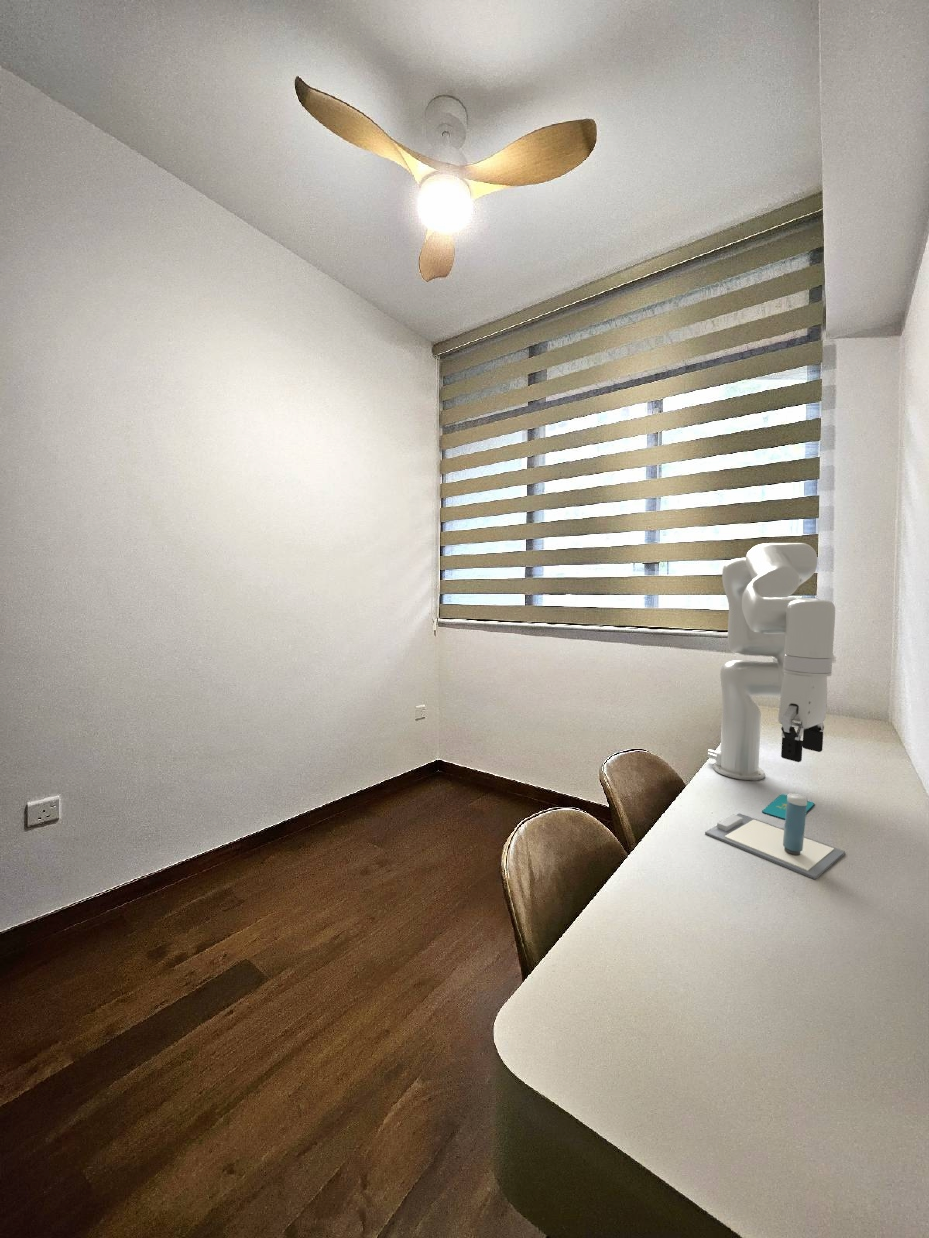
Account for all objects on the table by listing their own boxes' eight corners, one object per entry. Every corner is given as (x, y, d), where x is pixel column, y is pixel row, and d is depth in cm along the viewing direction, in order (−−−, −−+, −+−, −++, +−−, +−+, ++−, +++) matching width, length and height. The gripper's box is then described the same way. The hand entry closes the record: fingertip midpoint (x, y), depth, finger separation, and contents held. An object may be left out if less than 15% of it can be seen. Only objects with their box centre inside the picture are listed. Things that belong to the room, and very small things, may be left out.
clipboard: (704, 833, 105) (705, 827, 105) (739, 815, 114) (739, 808, 114) (815, 879, 89) (815, 871, 89) (844, 853, 98) (845, 846, 98)
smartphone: (760, 810, 116) (781, 792, 126) (760, 814, 116) (781, 796, 126) (797, 822, 110) (815, 802, 120) (797, 825, 110) (815, 806, 120)
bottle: (779, 850, 97) (784, 795, 96) (786, 845, 99) (791, 792, 98) (798, 858, 95) (803, 802, 94) (804, 853, 97) (810, 798, 96)
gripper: (803, 659, 102) (798, 741, 103) (764, 666, 92) (760, 758, 93) (847, 664, 96) (842, 751, 97) (812, 672, 86) (806, 770, 87)
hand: (801, 754), depth 95 cm, fingers open, 9 cm apart
